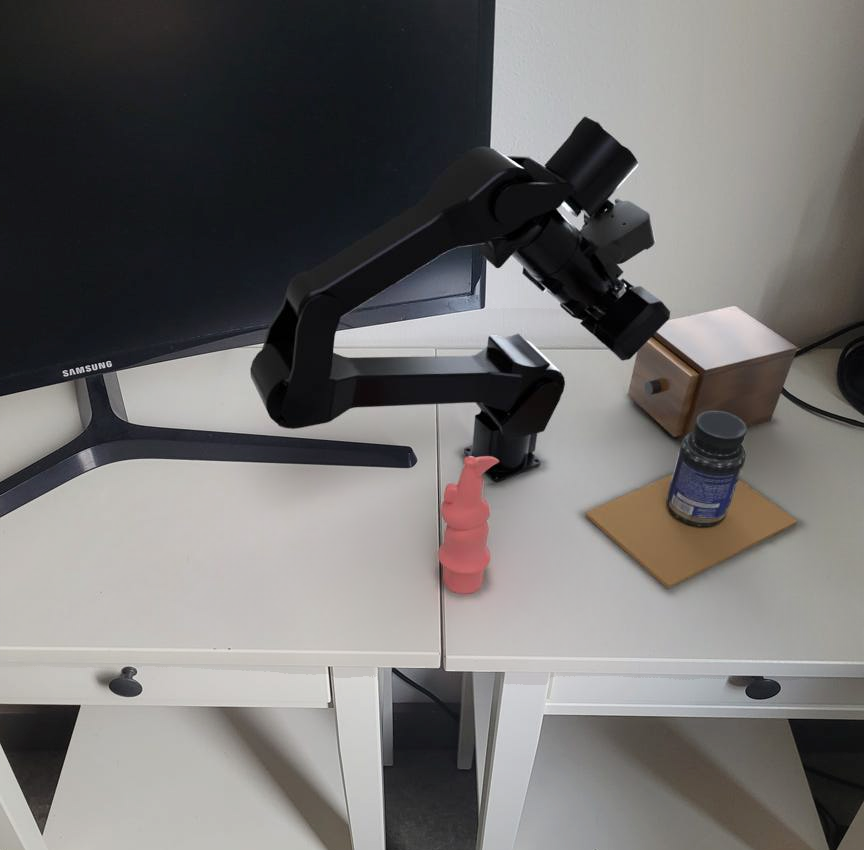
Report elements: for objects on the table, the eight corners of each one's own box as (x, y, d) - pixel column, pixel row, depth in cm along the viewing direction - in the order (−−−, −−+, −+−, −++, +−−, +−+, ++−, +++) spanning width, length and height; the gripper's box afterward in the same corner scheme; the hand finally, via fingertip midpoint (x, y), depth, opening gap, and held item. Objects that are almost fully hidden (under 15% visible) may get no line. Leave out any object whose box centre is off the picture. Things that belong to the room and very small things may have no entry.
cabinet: (684, 444, 95) (705, 370, 88) (631, 396, 102) (647, 324, 96) (771, 420, 98) (798, 347, 92) (713, 375, 106) (734, 305, 99)
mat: (667, 589, 77) (669, 585, 77) (584, 515, 85) (585, 511, 85) (796, 524, 84) (798, 520, 84) (708, 461, 92) (709, 457, 92)
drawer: (665, 439, 94) (681, 378, 89) (618, 396, 101) (631, 337, 95) (754, 415, 97) (775, 355, 92) (703, 375, 104) (720, 317, 99)
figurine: (472, 552, 81) (483, 431, 72) (499, 586, 78) (514, 464, 68) (427, 568, 80) (431, 447, 70) (452, 604, 76) (461, 481, 67)
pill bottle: (734, 528, 83) (766, 441, 76) (676, 531, 83) (702, 445, 76) (712, 488, 88) (739, 404, 81) (656, 491, 88) (679, 407, 80)
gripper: (675, 219, 69) (745, 312, 79) (561, 151, 82) (633, 238, 92) (581, 320, 72) (660, 397, 82) (485, 238, 85) (563, 313, 95)
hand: (629, 330), depth 88 cm, fingers closed
